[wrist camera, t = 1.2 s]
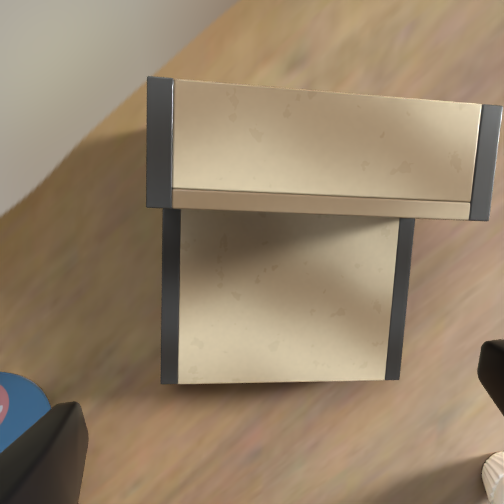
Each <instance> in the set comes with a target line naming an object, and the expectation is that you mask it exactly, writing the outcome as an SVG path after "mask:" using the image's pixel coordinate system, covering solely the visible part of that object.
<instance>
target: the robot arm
mask: <svg viewBox="0 0 504 504" xmlns="http://www.w3.org/2000/svg"><path fill="white" fill-rule="evenodd" d="M477 373H478V378H479V380H480V382H481V384H482V385H483V387H484V388H485V389H486V391H487V392H488V394H489V395H490V397H491V398H492V400H493V401H494V403H495V404H496V405H497V407H498V408H499V410H500V411H501V413H502V414H503V416H504V340H502V339H499V340H492V341H486V342H484V343H483V345H482V347H481V352H480V358H479V363H478V369H477ZM87 448H88V430H87V427H86V423H85V419H84V416H83V412H82V409H81V406H80V404H79V403H78V402H76V401H74V402H67V403H60V404H57V405H55V406H54V407H53V408H52V409H50V410H49V411H48V412H47V413H46V414H45V415H44V416H42V417H41V418H40V419H39V420H38V421H37V422H36V423H34V424H33V425H32V426H31V427H30V428H29V429H27V430H26V431H25V432H24V433H23V434H22V435H21V436H19V437H18V438H17V439H16V440H15V441H14V442H13V443H11V444H10V445H9V446H8V447H7V448H6V449H5V450H3V451H2V452H1V453H0V504H78V500H79V494H80V488H81V482H82V477H83V471H84V465H85V459H86V453H87Z"/></svg>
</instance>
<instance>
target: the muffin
mask: <svg viewBox="0 0 504 504" xmlns="http://www.w3.org/2000/svg"><path fill="white" fill-rule="evenodd" d="M482 468H483V470H482V480H483V483H484V486H485V489H486V493H487V496H488V499H489V503H490V504H504V451H503V452H501V451H500V452H499V453H497V452H496V453H495V454H493V455H492V456H490V457H489V459H488V460H486V463H484V466H483V467H482Z"/></svg>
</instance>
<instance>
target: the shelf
mask: <svg viewBox="0 0 504 504" xmlns="http://www.w3.org/2000/svg"><path fill="white" fill-rule="evenodd" d="M502 111H503V106H498V105H486V104H482V105H481V104H473V103H461V102H449V101H437V100H425V99H413V98H401V97H389V96H377V95H365V94H353V93H341V92H329V91H317V90H305V89H293V88H281V87H269V86H257V85H245V84H233V83H221V82H209V81H197V80H185V79H173V78H165V77H153V76H148V77H147V157H146V207H147V208H163V222H162V307H161V384H216V383H268V382H320V381H373V380H399V377H400V367H401V357H402V347H403V337H404V326H405V316H406V306H407V296H408V286H409V276H410V265H411V255H412V245H413V235H414V225H415V218H416V219H441V220H468V221H489V216H490V208H491V200H492V192H493V184H494V175H495V167H496V159H497V151H498V143H499V135H500V127H501V119H502Z"/></svg>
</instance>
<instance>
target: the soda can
mask: <svg viewBox="0 0 504 504" xmlns="http://www.w3.org/2000/svg"><path fill="white" fill-rule="evenodd" d="M50 409H51V406H50V404H49V401H48V399H47V397H46V395H45V394H44V392H43V391H42V390H41V389H40V387H39V386H37V385H36V384H35V383H34V382H32V381H31V380H29V379H27V378H25V377H23V376H20V375H16V374H12V373H6V372H0V453H1V452H2V451H3V450H5V449H6V448H7V447H8V446H9V445H10V444H11V443H13V442H14V441H15V440H16V439H17V438H18V437H19V436H21V435H22V434H23V433H24V432H25V431H26V430H27V429H29V428H30V427H31V426H32V425H33V424H34V423H36V422H37V421H38V420H39V419H40V418H41V417H42V416H44V415H45V414H46V413H47V412H48V411H49V410H50Z"/></svg>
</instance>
